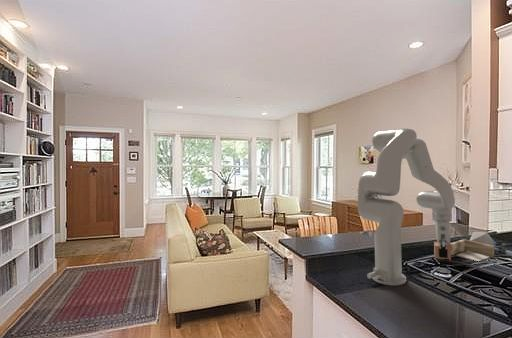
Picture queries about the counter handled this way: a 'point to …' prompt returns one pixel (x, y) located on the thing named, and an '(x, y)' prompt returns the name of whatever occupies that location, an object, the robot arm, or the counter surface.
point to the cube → (436, 251)
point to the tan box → (472, 250)
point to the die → (482, 238)
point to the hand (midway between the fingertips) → (442, 253)
